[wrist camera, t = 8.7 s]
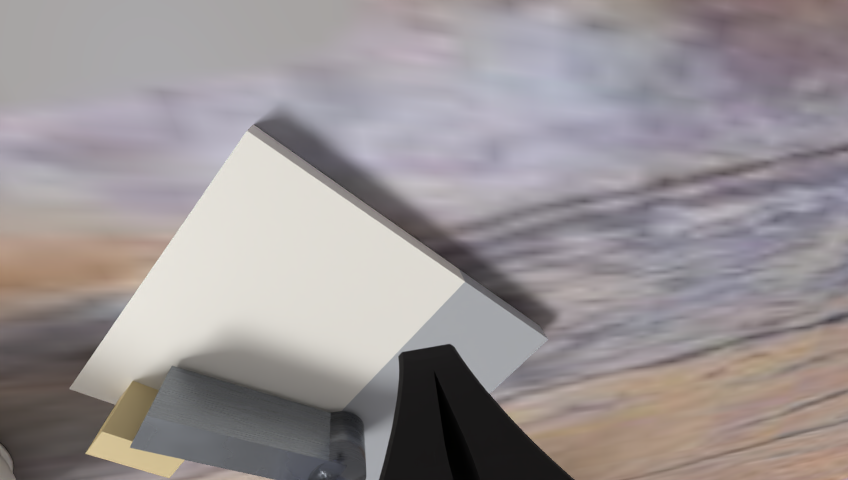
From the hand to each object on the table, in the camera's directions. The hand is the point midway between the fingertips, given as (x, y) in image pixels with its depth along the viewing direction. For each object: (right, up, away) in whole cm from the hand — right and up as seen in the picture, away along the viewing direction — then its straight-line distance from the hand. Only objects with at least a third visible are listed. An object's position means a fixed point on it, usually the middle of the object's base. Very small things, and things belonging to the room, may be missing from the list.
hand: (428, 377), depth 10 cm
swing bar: (-8, -5, +11) cm, 14 cm away
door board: (-5, -2, +11) cm, 13 cm away
